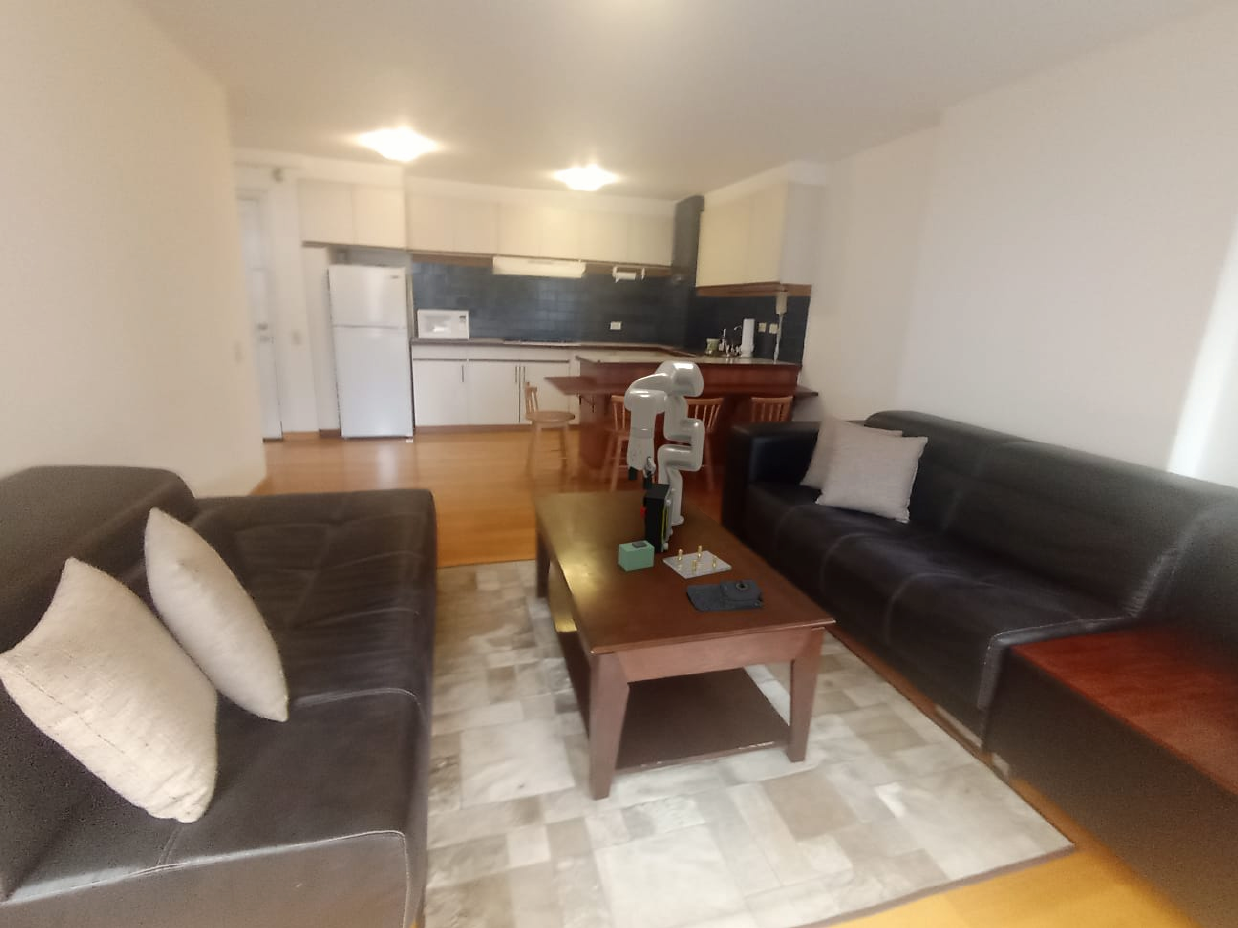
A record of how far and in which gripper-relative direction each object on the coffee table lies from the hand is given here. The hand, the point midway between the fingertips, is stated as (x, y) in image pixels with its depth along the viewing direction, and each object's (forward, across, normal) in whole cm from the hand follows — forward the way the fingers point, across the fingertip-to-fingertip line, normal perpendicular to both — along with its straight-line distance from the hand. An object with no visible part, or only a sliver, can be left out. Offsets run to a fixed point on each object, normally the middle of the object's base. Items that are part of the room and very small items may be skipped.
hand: (639, 484), depth 185 cm
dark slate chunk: (+29, +30, +14) cm, 44 cm away
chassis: (+28, +8, +19) cm, 35 cm away
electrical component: (+28, -14, +16) cm, 35 cm away
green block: (+28, 0, 0) cm, 28 cm away
